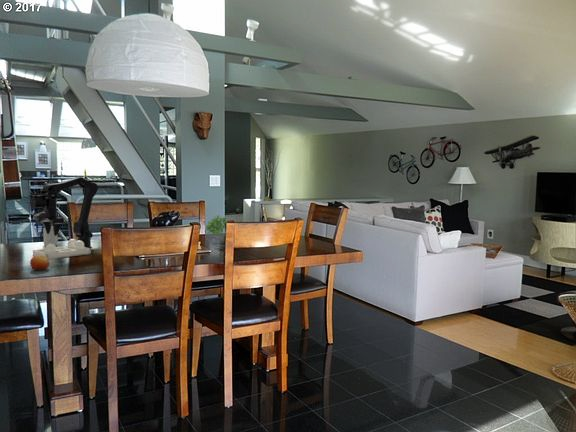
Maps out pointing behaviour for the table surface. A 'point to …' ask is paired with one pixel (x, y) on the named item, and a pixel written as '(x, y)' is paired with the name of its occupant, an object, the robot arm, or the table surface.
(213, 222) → the plant cuttings
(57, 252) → the carton
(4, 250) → the table surface
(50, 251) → the egg
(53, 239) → the can
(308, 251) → the table surface
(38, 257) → the fruit
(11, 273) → the table surface
